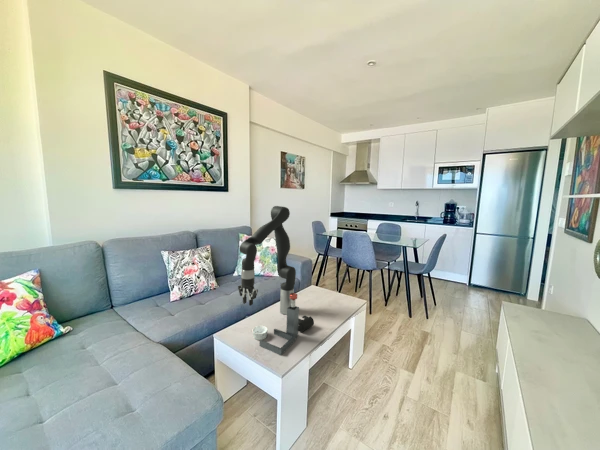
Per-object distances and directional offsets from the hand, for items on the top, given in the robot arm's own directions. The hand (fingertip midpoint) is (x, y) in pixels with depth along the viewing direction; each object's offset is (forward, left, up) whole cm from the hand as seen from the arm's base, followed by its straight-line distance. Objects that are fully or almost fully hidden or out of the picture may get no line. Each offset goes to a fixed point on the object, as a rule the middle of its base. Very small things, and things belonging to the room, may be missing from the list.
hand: (247, 304), depth 144 cm
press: (-2, +22, -17) cm, 28 cm away
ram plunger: (-10, +26, -2) cm, 27 cm away
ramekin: (0, +10, -18) cm, 20 cm away
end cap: (-21, +28, -18) cm, 39 cm away
